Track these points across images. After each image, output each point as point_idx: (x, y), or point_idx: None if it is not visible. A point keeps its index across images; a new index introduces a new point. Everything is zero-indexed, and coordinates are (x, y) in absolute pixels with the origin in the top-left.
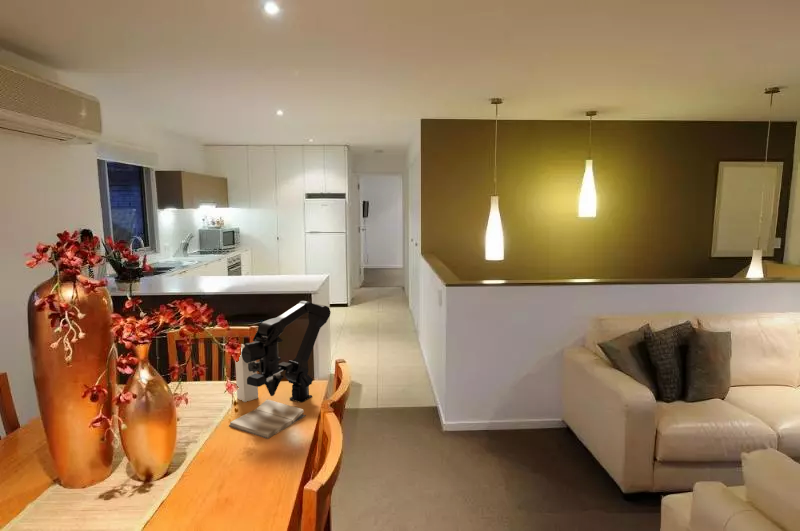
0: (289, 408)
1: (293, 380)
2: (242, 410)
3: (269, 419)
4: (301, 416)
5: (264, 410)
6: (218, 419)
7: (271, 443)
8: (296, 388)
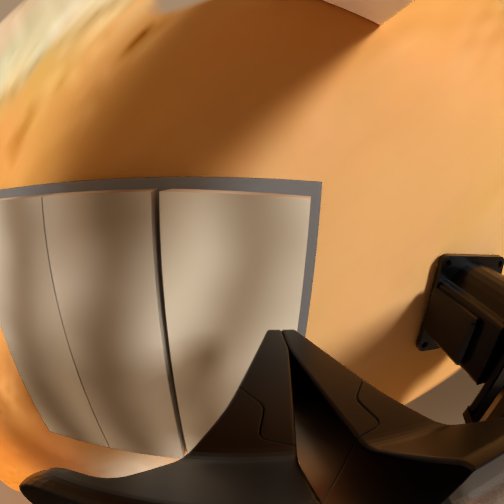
0: None
1: (496, 418)
2: (154, 62)
3: (114, 385)
4: None
5: (172, 283)
6: (13, 66)
7: (54, 436)
8: (474, 362)
